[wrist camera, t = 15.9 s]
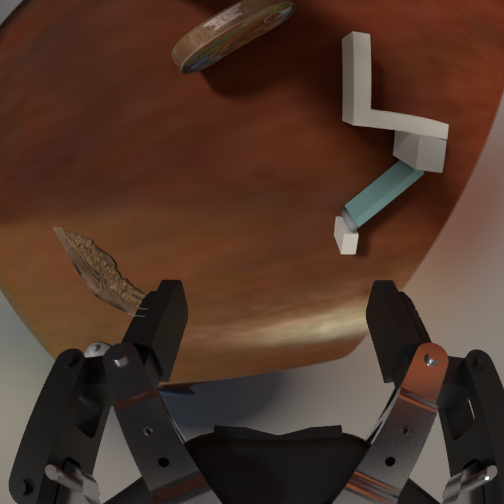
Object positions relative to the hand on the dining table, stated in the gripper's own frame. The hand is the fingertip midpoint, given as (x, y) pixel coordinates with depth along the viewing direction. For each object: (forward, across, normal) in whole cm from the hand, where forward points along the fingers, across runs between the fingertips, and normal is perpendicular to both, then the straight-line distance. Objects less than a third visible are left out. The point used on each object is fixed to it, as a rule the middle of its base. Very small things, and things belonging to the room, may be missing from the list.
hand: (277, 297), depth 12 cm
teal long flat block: (+28, -14, +4) cm, 32 cm away
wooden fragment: (+29, +32, +20) cm, 47 cm away
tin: (+28, +4, -16) cm, 33 cm away
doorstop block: (+28, -18, -2) cm, 33 cm away
